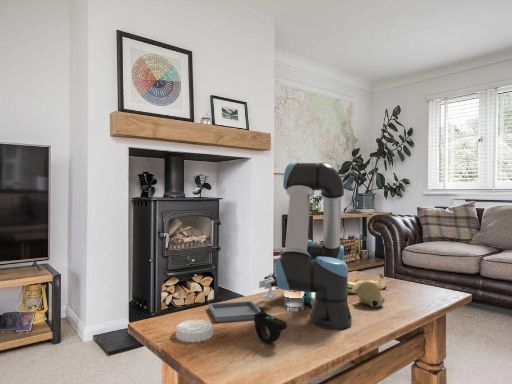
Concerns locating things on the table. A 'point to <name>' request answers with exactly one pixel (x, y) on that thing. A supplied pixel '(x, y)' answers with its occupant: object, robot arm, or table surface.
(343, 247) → the robot arm
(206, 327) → the mooncake
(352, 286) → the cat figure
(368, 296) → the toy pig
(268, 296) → the chess piece
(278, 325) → the controller
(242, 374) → the table surface
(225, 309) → the tray
